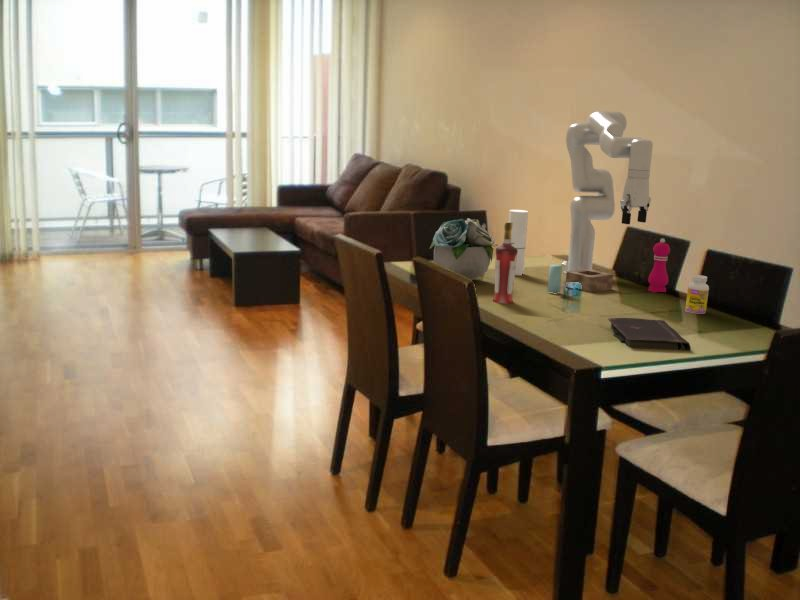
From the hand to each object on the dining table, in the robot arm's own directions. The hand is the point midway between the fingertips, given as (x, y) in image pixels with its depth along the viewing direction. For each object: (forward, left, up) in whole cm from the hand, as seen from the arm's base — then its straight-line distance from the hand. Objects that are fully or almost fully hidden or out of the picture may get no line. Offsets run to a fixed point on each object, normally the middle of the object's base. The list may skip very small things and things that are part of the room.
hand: (633, 222), depth 325 cm
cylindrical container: (-47, -10, -26) cm, 54 cm away
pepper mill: (+2, +15, -26) cm, 31 cm away
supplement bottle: (+30, -3, -26) cm, 40 cm away
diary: (+44, -50, -27) cm, 72 cm away
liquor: (-12, -52, -26) cm, 59 cm away
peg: (-16, -22, -26) cm, 38 cm away
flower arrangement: (-45, -41, -26) cm, 66 cm away
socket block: (-14, -5, -26) cm, 30 cm away
